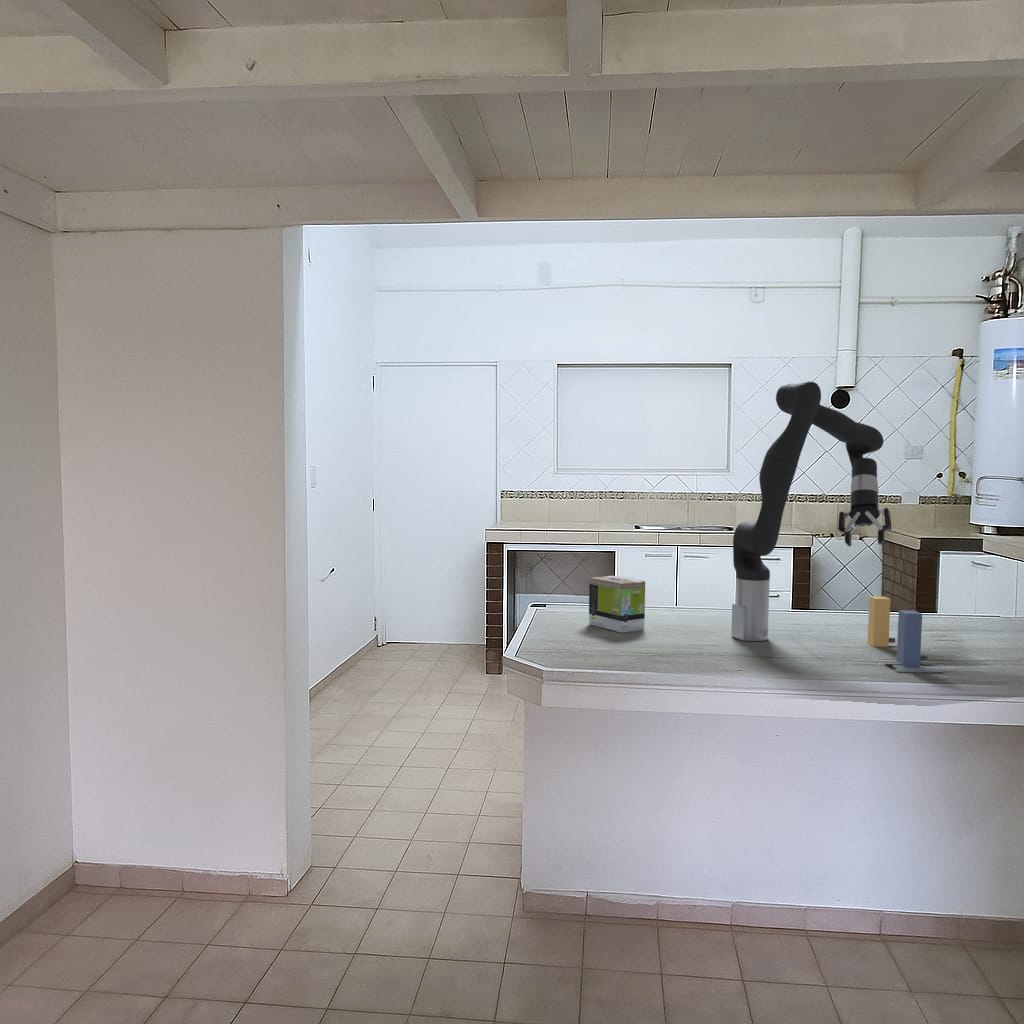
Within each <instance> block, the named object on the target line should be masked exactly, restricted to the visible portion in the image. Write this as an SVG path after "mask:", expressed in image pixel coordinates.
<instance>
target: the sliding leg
mask: <svg viewBox="0 0 1024 1024" xmlns="http://www.w3.org/2000/svg"><path fill="white" fill-rule="evenodd" d="M868 598H869V600H868V624H867V625H868V626H867V644H868V645H870V646H872V647H873V648H874V647H875V648H888V647H889V644H890V643H891V644H893V643H894V644H895V643H896V637H890V619H891V618H890V616H891V598H889V597H887V596H884V595H883V596H881V595H880V596H879V595H878V596H877V595H876V596H875V595H872V596H871V595H870V596H869V597H868Z"/></svg>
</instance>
